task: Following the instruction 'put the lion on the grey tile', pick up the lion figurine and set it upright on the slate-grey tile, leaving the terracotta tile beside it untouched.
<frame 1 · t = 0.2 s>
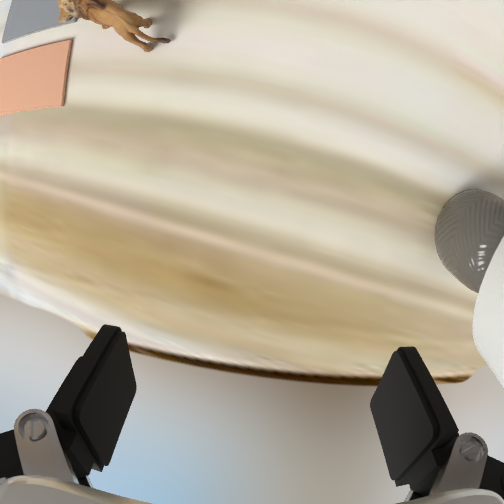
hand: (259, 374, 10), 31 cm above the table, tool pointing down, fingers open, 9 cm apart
terracotta tile: (30, 79, 32), on the table
lion figurine: (123, 27, 30), on the table
lamp: (458, 224, 39), on the table
slate tile: (44, 6, 27), on the table
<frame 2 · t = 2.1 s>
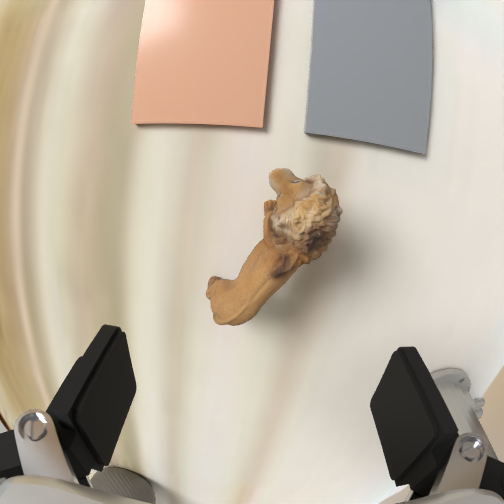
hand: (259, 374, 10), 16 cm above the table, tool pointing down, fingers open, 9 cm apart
terracotta tile: (206, 29, 19), on the table
lion figurine: (261, 236, 25), on the table
lamp: (127, 475, 45), on the table
slate tile: (372, 48, 19), on the table
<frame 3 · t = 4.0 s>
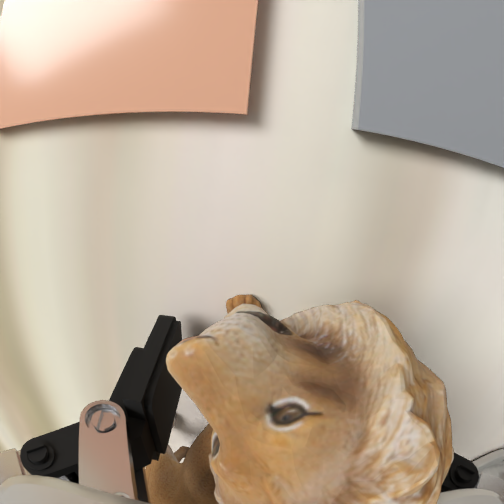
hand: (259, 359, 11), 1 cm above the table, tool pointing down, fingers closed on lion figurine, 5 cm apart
lion figurine: (231, 355, 12), on the table, touching gripper
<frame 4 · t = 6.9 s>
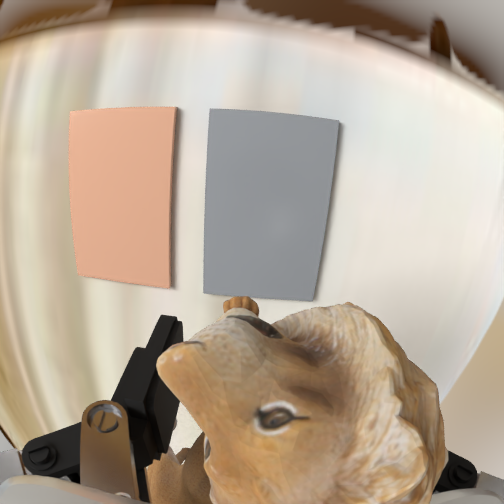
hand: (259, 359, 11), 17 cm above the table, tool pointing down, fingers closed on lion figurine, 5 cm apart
terracotta tile: (121, 196, 26), on the table
lion figurine: (230, 356, 12), point 15 cm above the table, touching gripper
slate tile: (266, 208, 26), on the table
when the fingers open (3 cm above the table, at t = 9.8 s): lion figurine drops 3 cm, resting on slate tile.
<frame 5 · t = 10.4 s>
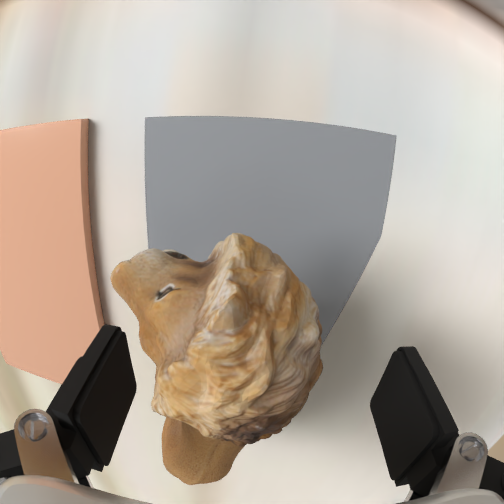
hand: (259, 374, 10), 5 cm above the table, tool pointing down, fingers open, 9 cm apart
terracotta tile: (31, 269, 15), on the table
lion figurine: (220, 322, 15), resting on slate tile
slate tile: (260, 290, 15), on the table, touching lion figurine
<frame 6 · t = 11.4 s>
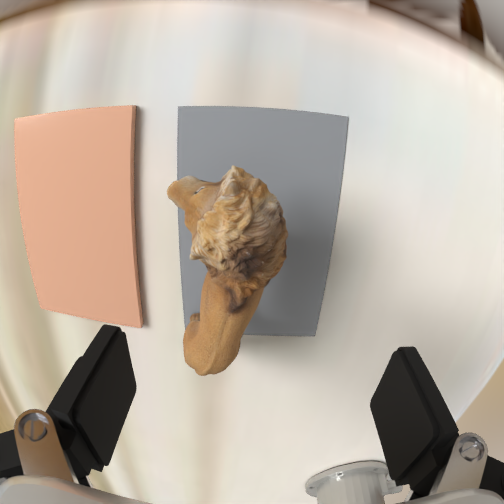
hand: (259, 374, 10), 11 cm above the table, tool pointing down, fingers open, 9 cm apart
terracotta tile: (77, 220, 20), on the table
lion figurine: (226, 253, 21), resting on slate tile
slate tile: (256, 229, 21), on the table, touching lion figurine
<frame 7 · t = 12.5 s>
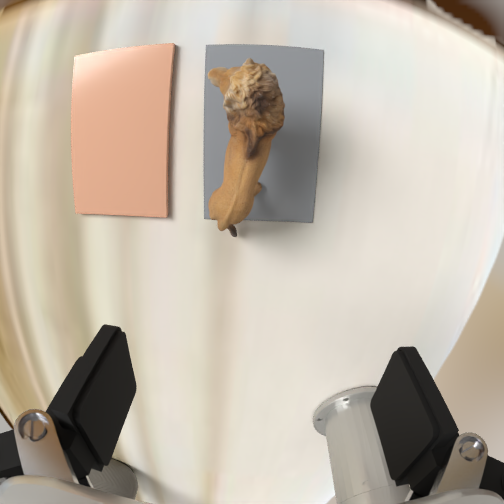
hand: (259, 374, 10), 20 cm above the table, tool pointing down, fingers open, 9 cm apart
terracotta tile: (120, 130, 26), on the table
lion figurine: (240, 149, 26), resting on slate tile
lamp: (114, 464, 53), on the table
slate tile: (261, 132, 26), on the table, touching lion figurine
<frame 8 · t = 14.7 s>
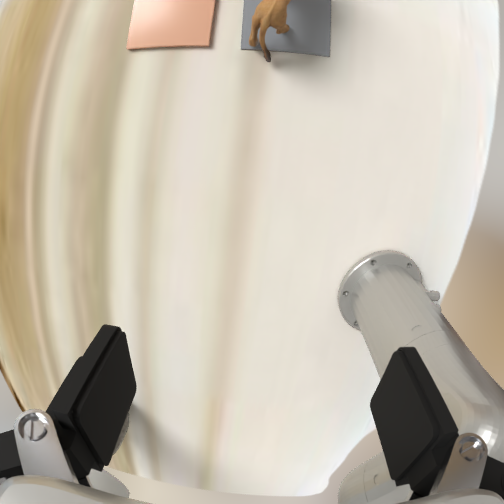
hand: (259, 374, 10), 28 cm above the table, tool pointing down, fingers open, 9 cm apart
lion figurine: (271, 5, 27), resting on slate tile
lamp: (105, 396, 52), on the table
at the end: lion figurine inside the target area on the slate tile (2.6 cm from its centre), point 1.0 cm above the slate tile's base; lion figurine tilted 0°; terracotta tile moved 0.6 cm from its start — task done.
